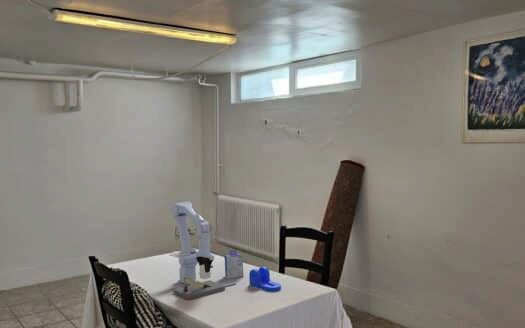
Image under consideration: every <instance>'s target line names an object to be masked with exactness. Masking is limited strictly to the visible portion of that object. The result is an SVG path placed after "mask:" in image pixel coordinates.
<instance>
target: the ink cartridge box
mask: <svg viewBox="0 0 525 328" xmlns="http://www.w3.org/2000/svg"><path fill="white" fill-rule="evenodd" d="M223 259H224V274H225V275H224V276H226V277H227V278H226V279H233V278H239V277H244V255H243V254H242V253H237V251H236V250H235V249H233V250H229V254H227V255H224V258H223Z"/></svg>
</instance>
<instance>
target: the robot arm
mask: <svg viewBox="0 0 525 328" xmlns="http://www.w3.org/2000/svg"><path fill="white" fill-rule="evenodd" d="M171 210H172V212H171V213H172V216H173V219H174V220H175V221H176V226H177V230H178V235H179V239H180V245H181V250H180V251H179V252H178V264H179V270H178V271H179V272H178V273H179V279H178V280H177V281H178V282H180V283H181V284H184V278H188V279H191V280H194V281H197V282H200V280H199V279H197V272H196V270H197V269H196V268H197V267H196V266H197V265H198V266H199V265H203V264H204V266H205V272H206V273H207V272H210V273H211V268H210V267H211V266H212V264H213V261H214V260H215V255H214V254H212V253H211V241H210V240H211V236H210V233H211V231H212V228H213V227H212V223H211V222H210V221H209V220H205V219H204V218H203V217H202V216H201V214H199V213H198V214H197V213H196V212H195V210H194V209H193V204H192V202H191V201H184V202H183V201H182V202H173V204H172V206H171ZM187 218H190V223H191V224H192V225H193V226H194V227H195V231H196V234H197V237H198V250H196V248H194V247H192V244H191V240H190V239H191V238H190V234H189V231H188V225H187ZM188 285H190V284H189V283H188Z"/></svg>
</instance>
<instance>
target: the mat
mask: <svg viewBox="0 0 525 328" xmlns="http://www.w3.org/2000/svg"><path fill="white" fill-rule="evenodd" d="M214 282H215V283H218V284H221V285H223V286H225V288H228V287H231V286H235V285H236V282H233V281H230V280H227V279H223V280H219V281H214Z"/></svg>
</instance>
